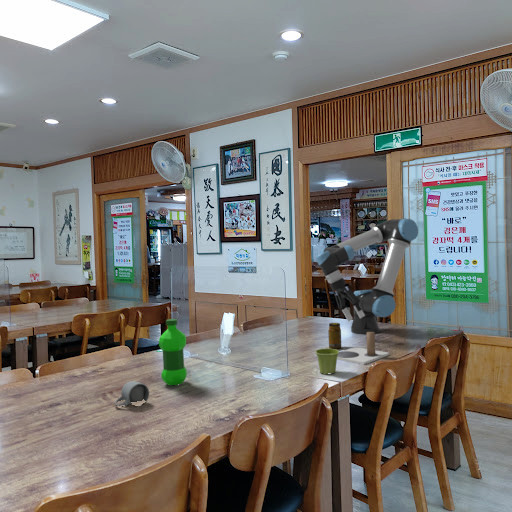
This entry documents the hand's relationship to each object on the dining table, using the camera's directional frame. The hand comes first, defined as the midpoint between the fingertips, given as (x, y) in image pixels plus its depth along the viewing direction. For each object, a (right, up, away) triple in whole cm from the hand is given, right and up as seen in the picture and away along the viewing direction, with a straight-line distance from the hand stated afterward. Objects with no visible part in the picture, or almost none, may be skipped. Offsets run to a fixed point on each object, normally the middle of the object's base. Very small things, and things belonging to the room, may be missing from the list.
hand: (356, 318), depth 234 cm
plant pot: (-21, -16, -45) cm, 52 cm away
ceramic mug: (-92, -20, -72) cm, 119 cm away
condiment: (-11, -14, -6) cm, 19 cm away
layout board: (-4, -14, -23) cm, 27 cm away
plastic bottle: (-81, -19, -51) cm, 98 cm away
